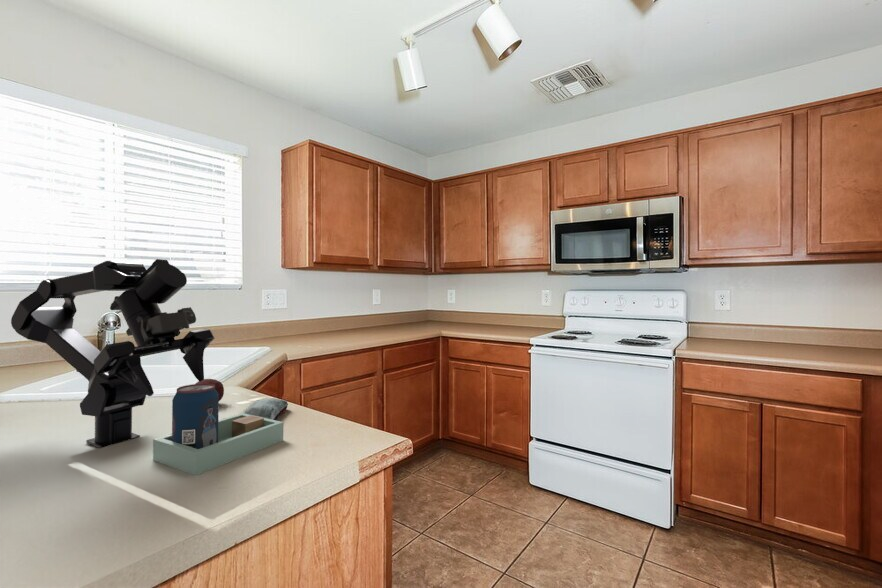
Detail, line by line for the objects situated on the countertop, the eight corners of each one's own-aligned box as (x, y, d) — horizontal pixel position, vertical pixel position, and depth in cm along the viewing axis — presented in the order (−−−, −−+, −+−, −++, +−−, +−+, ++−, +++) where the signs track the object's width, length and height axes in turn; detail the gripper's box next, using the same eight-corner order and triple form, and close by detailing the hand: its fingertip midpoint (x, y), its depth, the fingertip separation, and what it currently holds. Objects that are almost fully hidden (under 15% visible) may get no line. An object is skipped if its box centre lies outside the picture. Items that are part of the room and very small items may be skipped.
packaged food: (232, 431, 86) (232, 408, 86) (252, 414, 97) (253, 394, 97) (273, 430, 86) (274, 408, 86) (289, 414, 98) (289, 394, 98)
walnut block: (231, 441, 76) (231, 420, 76) (250, 435, 80) (250, 415, 80) (245, 445, 75) (245, 424, 75) (263, 438, 78) (263, 418, 78)
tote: (153, 465, 68) (153, 439, 68) (242, 434, 83) (242, 413, 83) (195, 481, 62) (195, 452, 62) (283, 445, 78) (283, 422, 78)
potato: (201, 401, 108) (202, 375, 108) (229, 402, 107) (230, 376, 107) (183, 409, 100) (183, 381, 100) (213, 410, 100) (213, 382, 100)
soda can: (181, 449, 72) (182, 383, 72) (223, 446, 74) (223, 381, 74) (164, 465, 66) (165, 392, 66) (210, 461, 67) (211, 390, 67)
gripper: (104, 298, 65) (142, 380, 62) (211, 290, 82) (245, 355, 79) (78, 333, 69) (112, 412, 67) (184, 319, 86) (216, 381, 84)
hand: (178, 387), depth 74 cm, fingers open, 9 cm apart
